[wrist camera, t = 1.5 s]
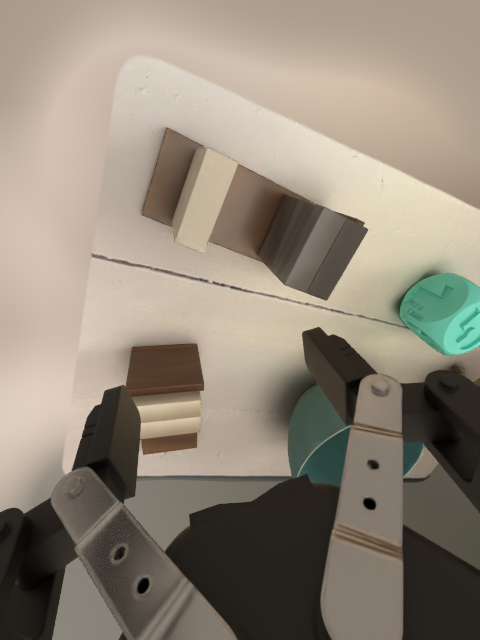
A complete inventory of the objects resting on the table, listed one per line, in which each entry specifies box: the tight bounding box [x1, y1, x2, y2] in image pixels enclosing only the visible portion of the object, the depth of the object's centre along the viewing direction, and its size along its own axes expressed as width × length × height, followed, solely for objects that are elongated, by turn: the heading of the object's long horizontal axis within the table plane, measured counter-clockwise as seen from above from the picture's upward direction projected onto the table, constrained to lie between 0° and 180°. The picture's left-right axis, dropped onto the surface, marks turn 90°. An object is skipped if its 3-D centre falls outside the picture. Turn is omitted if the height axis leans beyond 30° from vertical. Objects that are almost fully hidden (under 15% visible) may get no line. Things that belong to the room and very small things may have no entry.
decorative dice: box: [400, 273, 480, 355], centre depth 41 cm, size 8×8×8 cm
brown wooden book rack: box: [126, 344, 204, 455], centre depth 38 cm, size 19×8×10 cm, turn 176°
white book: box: [172, 147, 238, 253], centre depth 26 cm, size 2×7×8 cm, turn 155°
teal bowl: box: [288, 384, 425, 487], centre depth 44 cm, size 18×18×12 cm
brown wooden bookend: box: [142, 128, 368, 300], centre depth 28 cm, size 18×8×10 cm, turn 65°
